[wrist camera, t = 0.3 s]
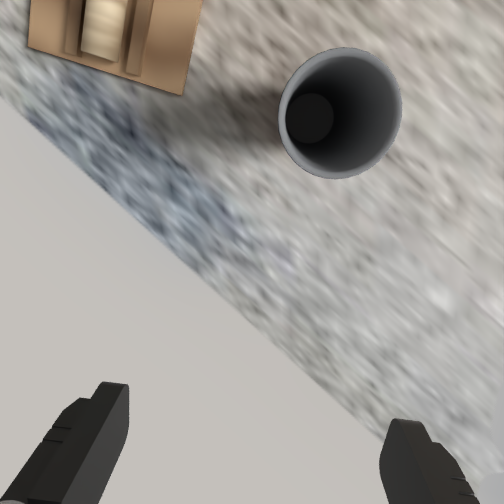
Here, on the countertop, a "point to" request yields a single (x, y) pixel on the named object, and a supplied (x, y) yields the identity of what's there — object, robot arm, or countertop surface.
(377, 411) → the countertop surface
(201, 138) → the countertop surface
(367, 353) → the countertop surface
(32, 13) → the board
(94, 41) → the dowel
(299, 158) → the cup
